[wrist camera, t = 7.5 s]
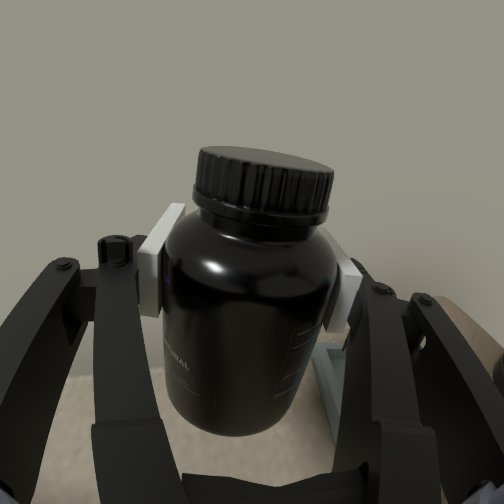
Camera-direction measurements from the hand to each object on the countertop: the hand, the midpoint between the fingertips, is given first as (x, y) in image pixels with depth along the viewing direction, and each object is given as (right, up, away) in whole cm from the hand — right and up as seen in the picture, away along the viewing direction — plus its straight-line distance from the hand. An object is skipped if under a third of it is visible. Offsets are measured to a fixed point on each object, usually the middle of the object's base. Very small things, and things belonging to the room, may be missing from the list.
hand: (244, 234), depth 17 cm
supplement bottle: (-1, -9, -2) cm, 9 cm away
